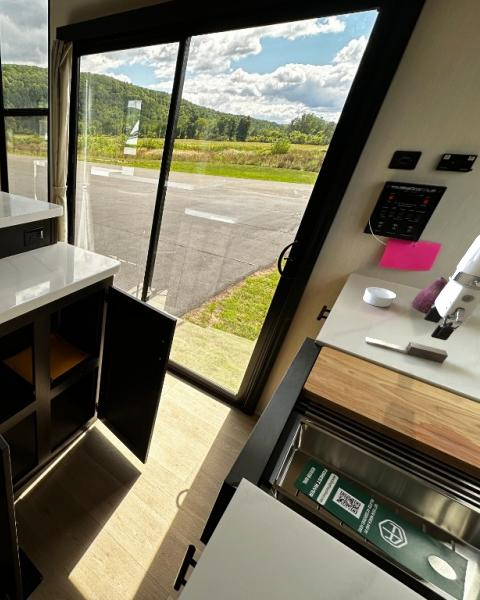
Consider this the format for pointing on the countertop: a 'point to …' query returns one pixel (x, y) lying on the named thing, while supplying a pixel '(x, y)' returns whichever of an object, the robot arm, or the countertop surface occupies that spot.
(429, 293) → the vegetable
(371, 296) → the ramekin
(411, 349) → the knife
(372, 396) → the countertop surface
